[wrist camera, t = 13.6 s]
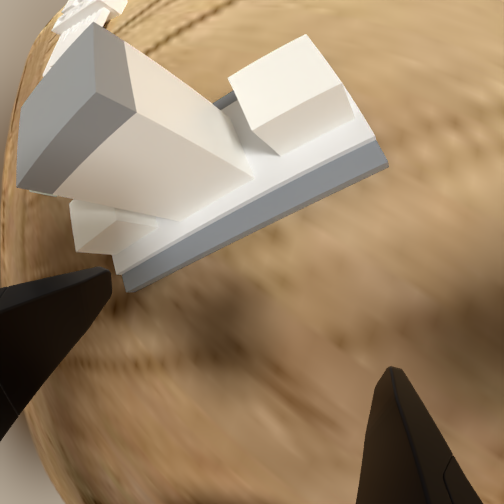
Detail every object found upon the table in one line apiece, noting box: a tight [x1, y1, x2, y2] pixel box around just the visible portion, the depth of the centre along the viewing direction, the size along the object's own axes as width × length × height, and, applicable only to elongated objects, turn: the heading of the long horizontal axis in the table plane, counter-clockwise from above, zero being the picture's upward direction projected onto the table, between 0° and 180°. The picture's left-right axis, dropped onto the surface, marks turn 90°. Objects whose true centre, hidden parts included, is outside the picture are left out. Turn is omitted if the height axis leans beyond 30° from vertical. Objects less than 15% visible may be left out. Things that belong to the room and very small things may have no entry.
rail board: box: [69, 34, 389, 292], centre depth 20 cm, size 10×21×6 cm, turn 111°
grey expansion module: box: [16, 22, 255, 222], centre depth 16 cm, size 5×6×12 cm
